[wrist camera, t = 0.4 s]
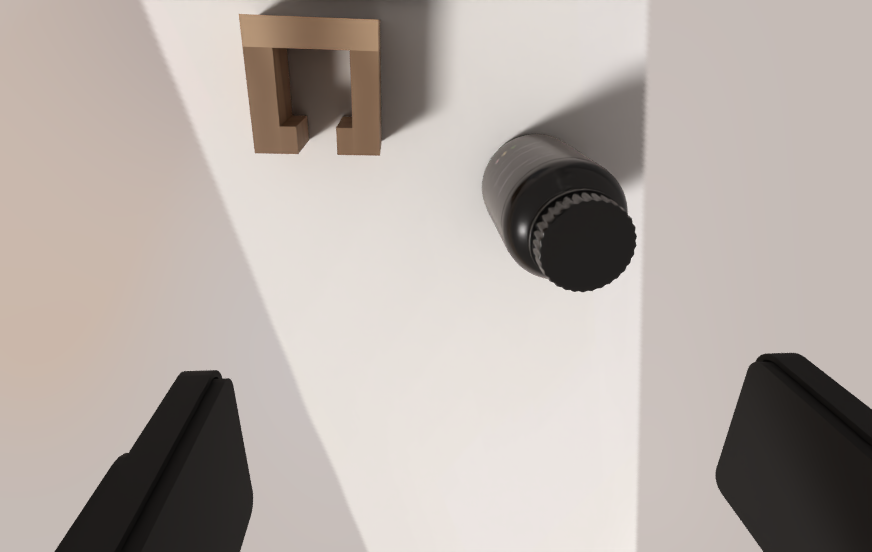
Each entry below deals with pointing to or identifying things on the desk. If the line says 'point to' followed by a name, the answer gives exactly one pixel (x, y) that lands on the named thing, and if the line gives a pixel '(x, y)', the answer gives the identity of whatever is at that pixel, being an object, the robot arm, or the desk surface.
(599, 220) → the supplement bottle
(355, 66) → the wooden arch block
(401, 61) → the desk surface
